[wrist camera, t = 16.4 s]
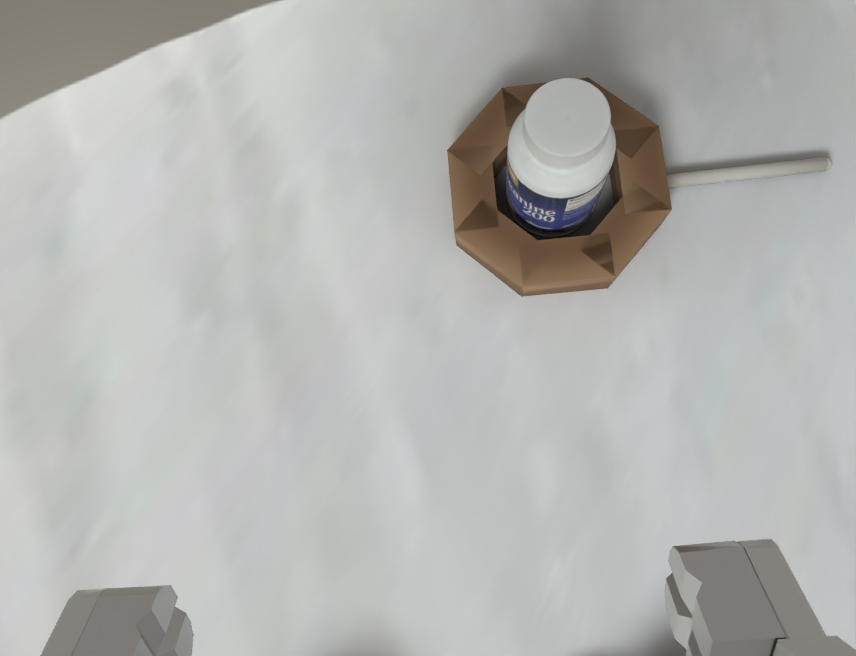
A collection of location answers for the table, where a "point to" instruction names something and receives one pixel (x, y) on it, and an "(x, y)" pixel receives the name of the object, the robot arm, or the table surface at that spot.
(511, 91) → the walnut ring
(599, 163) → the pill bottle
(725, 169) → the grey rod
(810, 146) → the table surface
